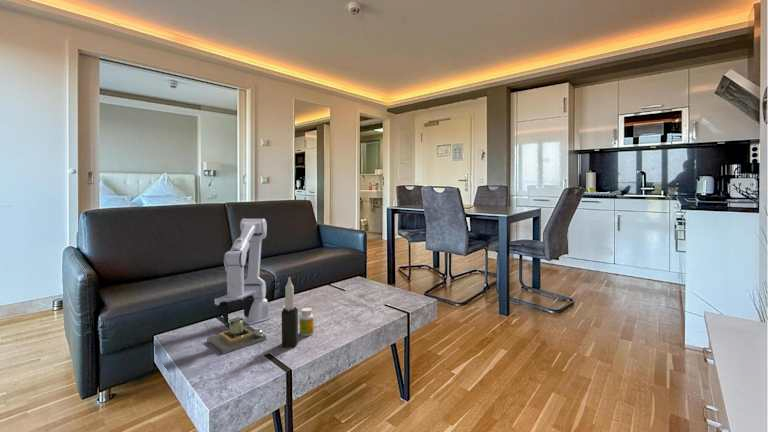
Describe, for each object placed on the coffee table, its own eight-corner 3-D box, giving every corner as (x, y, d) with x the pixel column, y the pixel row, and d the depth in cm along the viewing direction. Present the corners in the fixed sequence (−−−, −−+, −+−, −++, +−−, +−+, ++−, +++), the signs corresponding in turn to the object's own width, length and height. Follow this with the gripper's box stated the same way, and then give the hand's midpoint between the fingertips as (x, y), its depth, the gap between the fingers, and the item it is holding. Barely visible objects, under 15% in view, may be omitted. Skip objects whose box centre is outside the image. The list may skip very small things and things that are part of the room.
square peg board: (248, 329, 139) (248, 321, 139) (266, 339, 130) (266, 330, 129) (207, 341, 127) (206, 332, 127) (222, 354, 118) (222, 344, 118)
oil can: (240, 337, 132) (239, 313, 131) (245, 340, 129) (245, 316, 128) (227, 341, 128) (227, 316, 128) (233, 344, 125) (232, 319, 125)
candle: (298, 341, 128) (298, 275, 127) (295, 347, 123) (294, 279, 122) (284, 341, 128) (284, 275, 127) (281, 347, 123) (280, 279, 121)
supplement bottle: (299, 336, 133) (299, 312, 132) (299, 331, 138) (299, 307, 137) (314, 335, 134) (314, 311, 133) (313, 330, 139) (313, 306, 139)
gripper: (219, 289, 119) (220, 327, 120) (259, 281, 130) (260, 316, 131) (211, 285, 124) (212, 322, 125) (250, 278, 134) (251, 312, 135)
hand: (236, 319), depth 128 cm, fingers open, 7 cm apart
